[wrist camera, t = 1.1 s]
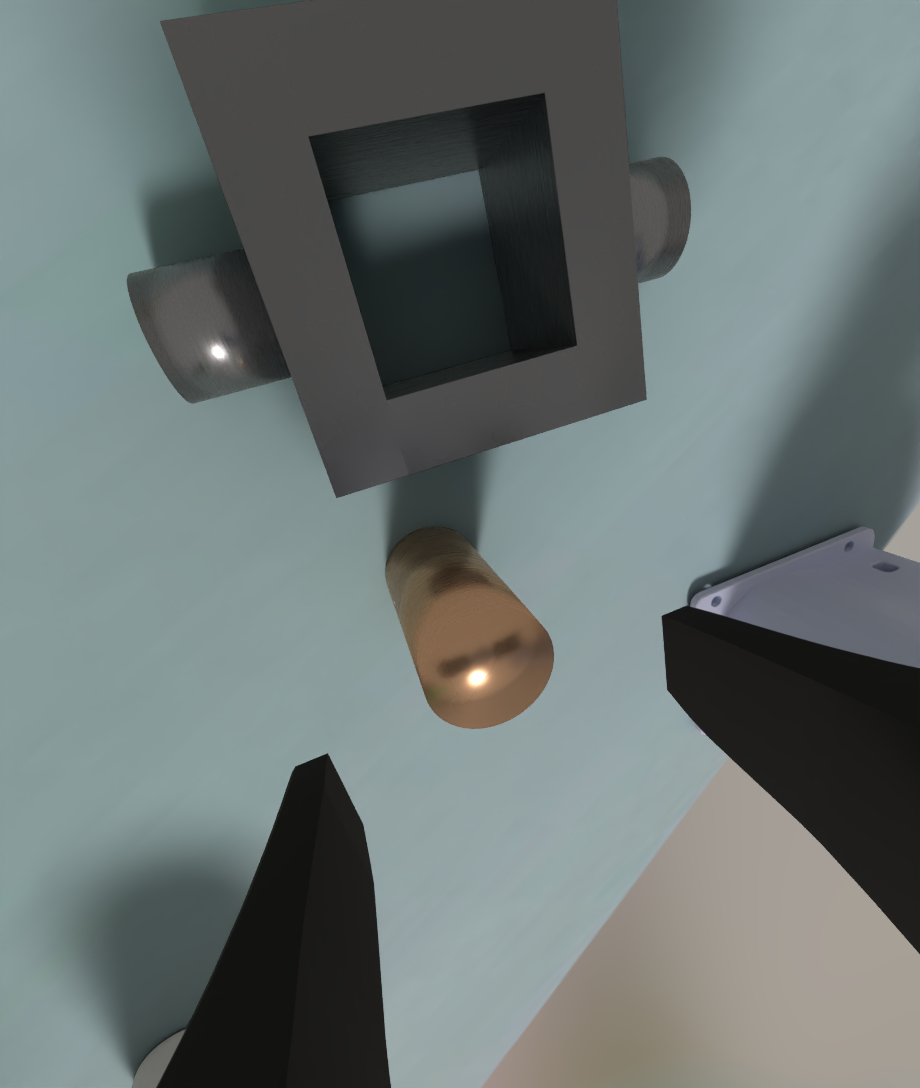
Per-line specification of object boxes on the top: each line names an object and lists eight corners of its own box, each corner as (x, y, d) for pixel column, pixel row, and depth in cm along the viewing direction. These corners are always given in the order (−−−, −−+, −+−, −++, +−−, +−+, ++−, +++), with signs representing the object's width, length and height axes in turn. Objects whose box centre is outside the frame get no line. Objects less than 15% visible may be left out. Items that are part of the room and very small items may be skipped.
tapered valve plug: (464, 514, 16) (541, 589, 11) (484, 593, 17) (562, 697, 12) (373, 544, 15) (405, 641, 10) (401, 625, 17) (443, 748, 11)
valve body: (609, 62, 13) (727, -57, 9) (635, 371, 16) (729, 373, 12) (94, 154, 11) (-18, 45, 7) (245, 489, 14) (222, 534, 10)
